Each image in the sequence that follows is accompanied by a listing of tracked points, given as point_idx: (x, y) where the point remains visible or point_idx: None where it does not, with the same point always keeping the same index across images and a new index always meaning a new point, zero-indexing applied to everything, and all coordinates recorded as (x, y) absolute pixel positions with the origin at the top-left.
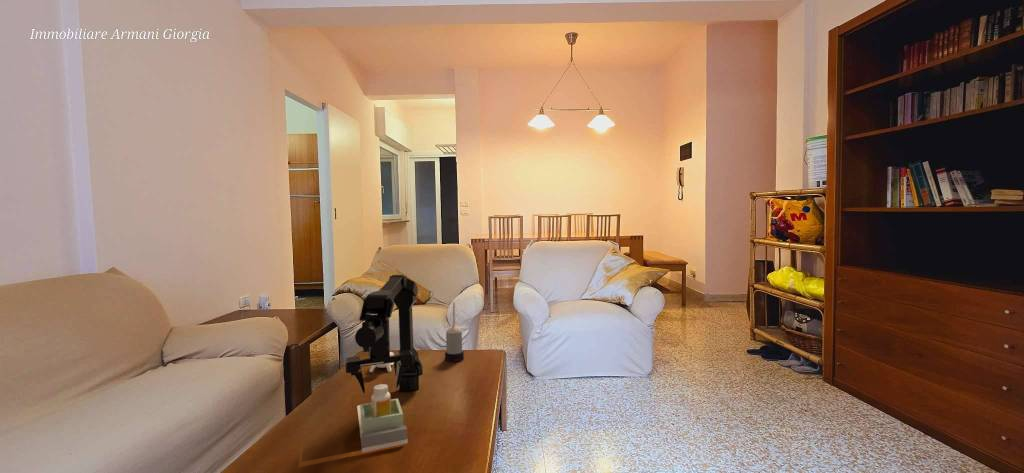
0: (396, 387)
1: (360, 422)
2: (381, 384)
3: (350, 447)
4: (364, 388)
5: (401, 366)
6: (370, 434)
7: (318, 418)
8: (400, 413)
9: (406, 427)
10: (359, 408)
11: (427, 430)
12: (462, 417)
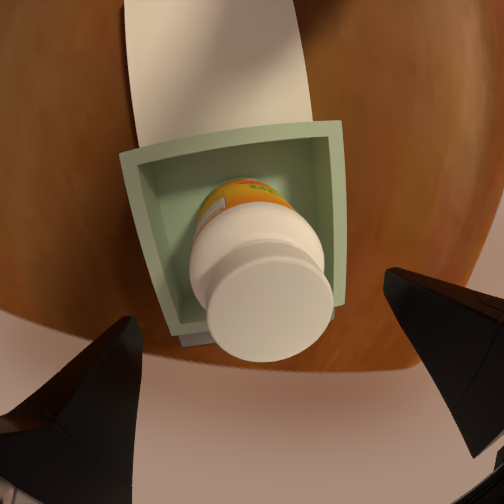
0: (385, 296)
1: (143, 138)
2: (280, 267)
3: (144, 287)
4: (140, 380)
5: (493, 442)
6: (209, 336)
7: (12, 76)
8: (335, 300)
9: (334, 311)
10: (133, 15)
11: (383, 234)
12: (467, 186)
